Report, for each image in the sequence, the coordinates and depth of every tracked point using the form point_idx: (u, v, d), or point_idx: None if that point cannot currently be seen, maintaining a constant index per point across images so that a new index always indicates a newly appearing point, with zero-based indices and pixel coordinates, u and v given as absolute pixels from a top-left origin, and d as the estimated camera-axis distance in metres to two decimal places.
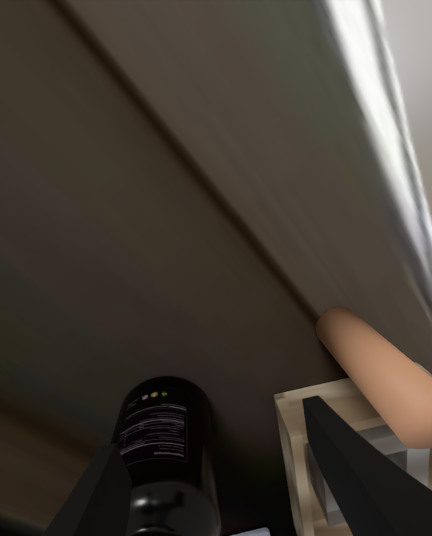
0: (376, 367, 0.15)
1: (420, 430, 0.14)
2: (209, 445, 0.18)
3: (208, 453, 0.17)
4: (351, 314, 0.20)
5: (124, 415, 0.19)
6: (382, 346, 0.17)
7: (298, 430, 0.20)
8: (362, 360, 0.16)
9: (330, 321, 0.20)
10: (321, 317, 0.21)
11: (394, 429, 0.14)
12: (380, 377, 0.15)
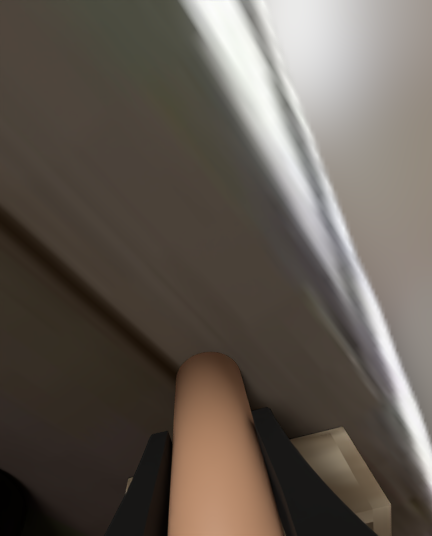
0: (182, 506, 0.08)
1: None
2: None
3: None
4: (216, 368, 0.13)
5: None
6: (216, 451, 0.09)
7: None
8: (177, 479, 0.09)
9: (183, 379, 0.13)
10: (180, 369, 0.14)
11: None
12: None
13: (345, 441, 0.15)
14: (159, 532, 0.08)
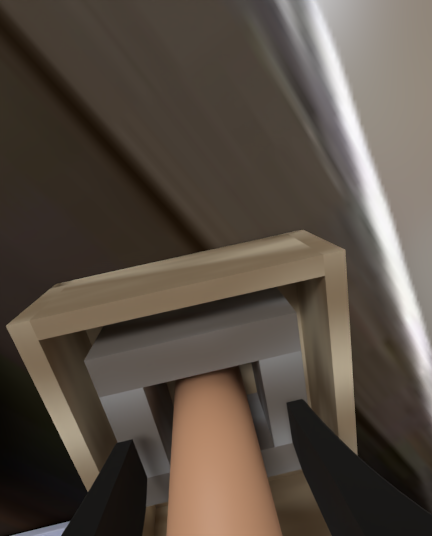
0: (181, 474, 0.09)
1: None
2: None
3: None
4: None
5: None
6: (212, 427, 0.10)
7: (32, 315, 0.10)
8: (176, 452, 0.10)
9: None
10: None
11: None
12: (176, 500, 0.08)
13: (303, 234, 0.13)
14: None
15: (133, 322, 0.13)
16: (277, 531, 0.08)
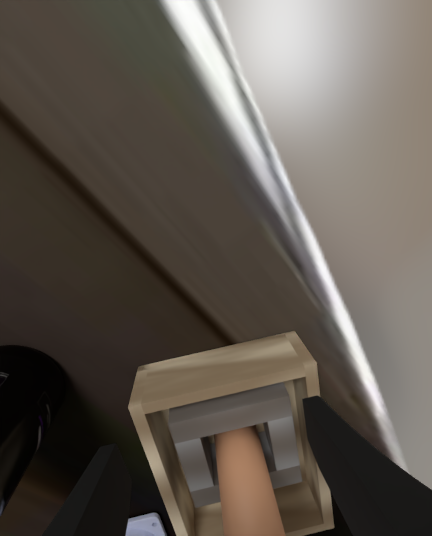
0: (228, 489, 0.17)
1: None
2: (23, 413, 0.16)
3: (12, 421, 0.16)
4: None
5: None
6: (242, 462, 0.18)
7: (140, 400, 0.18)
8: (223, 476, 0.18)
9: None
10: None
11: None
12: (227, 502, 0.16)
13: (294, 337, 0.21)
14: None
15: None
16: (278, 517, 0.16)
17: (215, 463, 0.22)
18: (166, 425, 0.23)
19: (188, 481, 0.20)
